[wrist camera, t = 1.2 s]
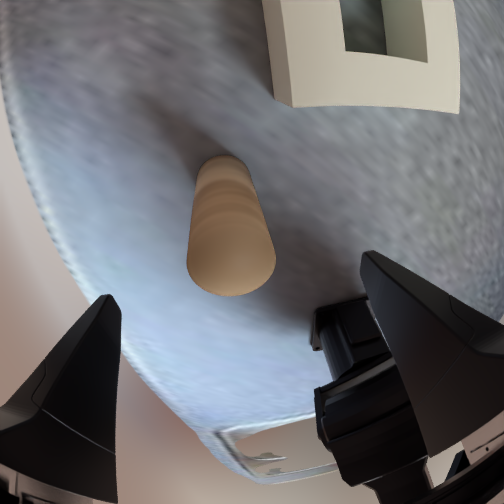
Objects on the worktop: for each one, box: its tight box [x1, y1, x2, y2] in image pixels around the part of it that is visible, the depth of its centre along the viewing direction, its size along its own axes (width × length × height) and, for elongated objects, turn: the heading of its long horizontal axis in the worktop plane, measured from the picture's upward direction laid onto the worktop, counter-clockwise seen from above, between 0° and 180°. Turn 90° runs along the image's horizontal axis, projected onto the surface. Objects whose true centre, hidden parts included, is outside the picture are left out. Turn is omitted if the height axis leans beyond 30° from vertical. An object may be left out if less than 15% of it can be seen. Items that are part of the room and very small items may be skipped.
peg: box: [187, 155, 276, 296], centre depth 13 cm, size 3×3×8 cm
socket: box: [262, 0, 460, 114], centre depth 9 cm, size 10×10×4 cm
